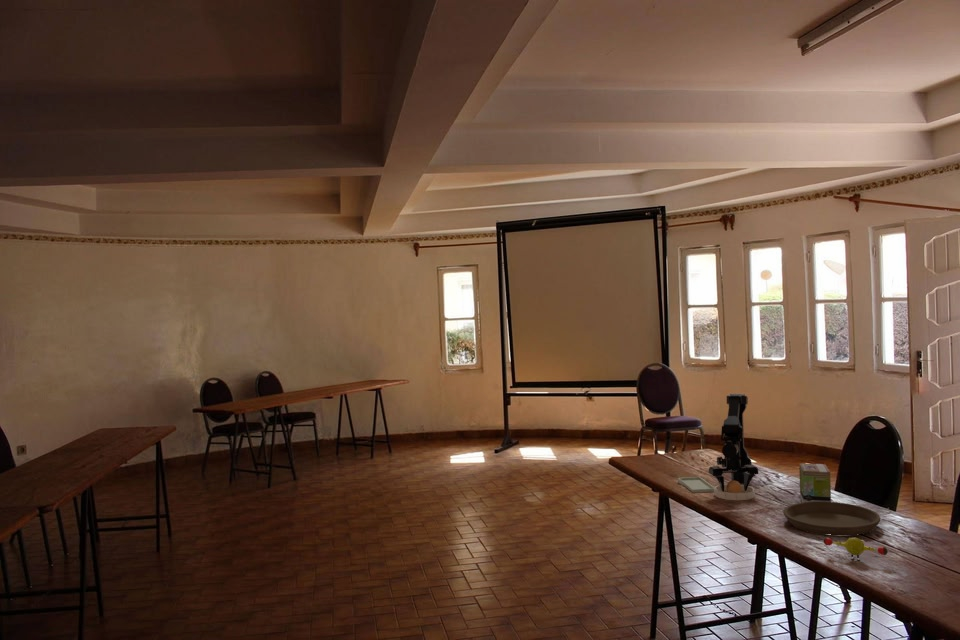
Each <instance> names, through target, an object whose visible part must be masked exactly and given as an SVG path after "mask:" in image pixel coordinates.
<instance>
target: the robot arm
mask: <svg viewBox="0 0 960 640" xmlns="http://www.w3.org/2000/svg"><path fill="white" fill-rule="evenodd" d="M748 399H749V397H748V396H747V395H745V393H729V395H726V404H727V405H728V411H727V417H726V419H724V420H723V425H721V435H720V436H721V437H720V441H721V442H722V441H723V442H724V445H723V446H722V449H721V453H722V455H723V456H724V457H723V456H717V457H716V466H710V467H709V468H708V474H710V475H711V476H712V477H715V478H716V480H717V482H718V483H719V484H718V485H720V487H721V489H722V491H723V492H724V484H725V480H724V479H725V478H724V477H725V476H724V474H727V473H728V474H731V476H730V477H731V481H732V480H735V481H738V482H739V483H740V484H743V485H744V490H745V491H746V490H747V488H748V486H750V482H751V481H752V479H753V478H754V477H756V475H759V468H758V466H756V465H754V464H752V459H751V457H750V456H749V452H748V450H747V448H746V447H745V435H744V413H745V411H746V409H747V405H749V403H748V402H749V400H748ZM720 466H721V467H720Z"/></svg>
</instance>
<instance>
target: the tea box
mask: <svg viewBox="0 0 960 640" xmlns="http://www.w3.org/2000/svg"><path fill="white" fill-rule="evenodd" d="M798 467H799V498H800V501H801V502H800V503H803V502H832V491H831V490H832V489H831V487H832V486H831V471H830V469H829V468H828V466H827V465H826V463H824V464H823V463H799V465H798Z"/></svg>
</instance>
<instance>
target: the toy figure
mask: <svg viewBox="0 0 960 640" xmlns="http://www.w3.org/2000/svg"><path fill="white" fill-rule="evenodd" d="M823 544H824V545H825V546H832V545H833V544H836V545H837V547H838V546H840V547H841V546H842V547H844V548H845V550H846V551H847V552H848V553H849V554H850V557H854V556H856V559H857V558H860V555H862V554H863V553H864V552H865V551H870V552H873V551H877V552H878V554H879V555H881V556H887V555H888V552H889V551H888V549H887V547H885V546H880V547H878V548H877V549H876V548H874V547H872V546H866V545H865V544H866V541H865V540H863V539H860V538H858V537H856V536H851V537H849V538H848V539H847V540H846V541H845V542H841V541H833V539H832V538H830V537H825V538H824V539H823Z"/></svg>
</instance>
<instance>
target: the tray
mask: <svg viewBox="0 0 960 640" xmlns="http://www.w3.org/2000/svg"><path fill="white" fill-rule="evenodd" d="M677 482H678V484H680V485H681V486H684V487H685V488H687V489H688V490H689V491H690V492H691V493H694V494H695V493H711V492H712V493H714V487H715V486H714V485H712V484H711V483H709V482H708V481H706V480H705V479H704V478H702V477H701V476H691V477H690V476H688V477H687V476H686V477H677Z"/></svg>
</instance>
